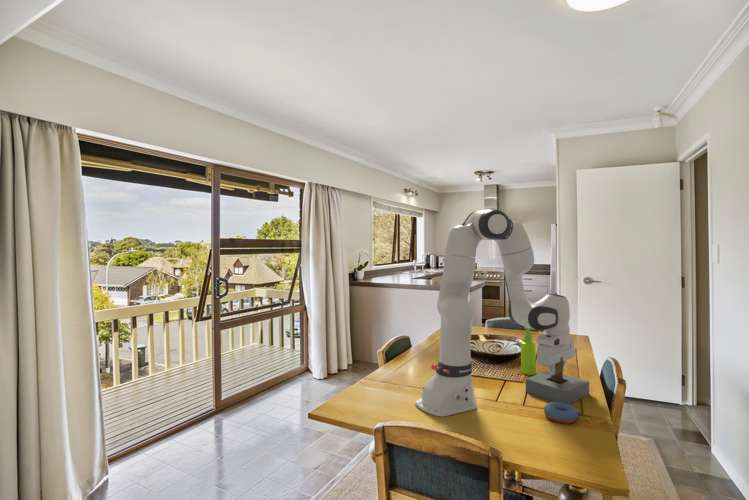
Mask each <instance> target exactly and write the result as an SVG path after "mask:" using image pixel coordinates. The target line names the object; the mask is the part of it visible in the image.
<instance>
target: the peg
mask: <svg viewBox="0 0 749 500" xmlns="http://www.w3.org/2000/svg"><path fill="white" fill-rule="evenodd" d="M554 368H555V370H556V375H551V381H552V382H555V383H559V384H562V383H563V374H564V371H563V357H561V358H560V362H559V363H556V364H555V366H554Z"/></svg>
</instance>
